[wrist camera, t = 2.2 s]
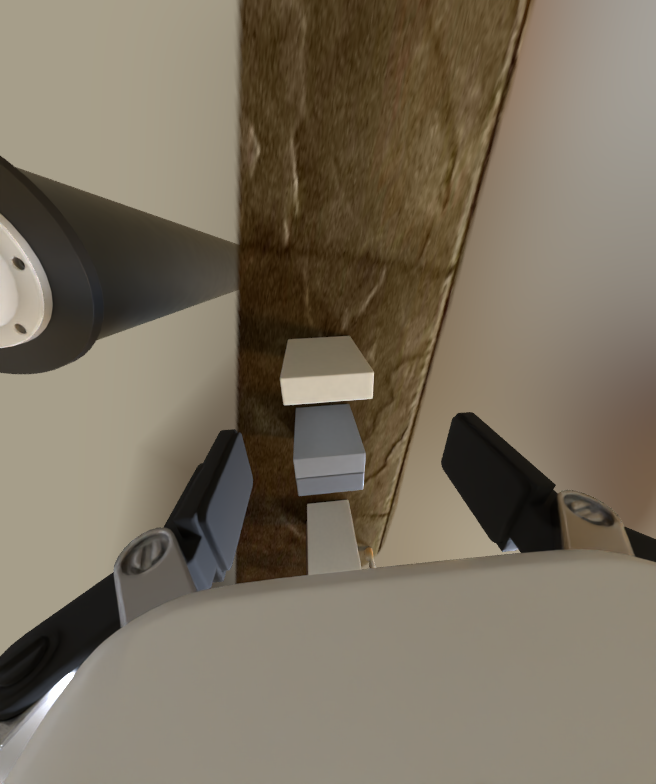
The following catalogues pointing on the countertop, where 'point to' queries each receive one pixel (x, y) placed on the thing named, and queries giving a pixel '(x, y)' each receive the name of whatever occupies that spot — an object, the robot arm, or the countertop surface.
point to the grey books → (327, 450)
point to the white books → (330, 538)
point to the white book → (324, 371)
